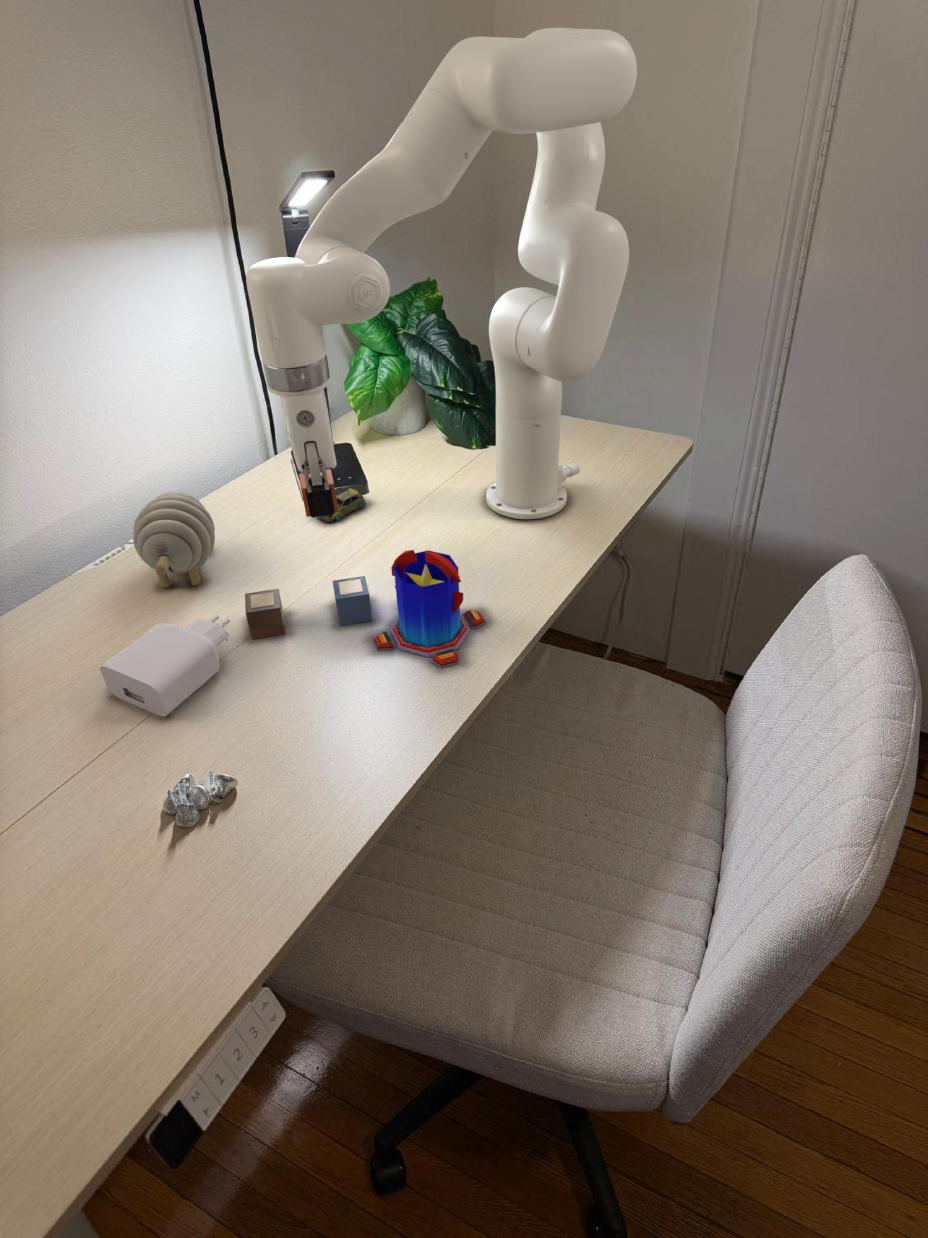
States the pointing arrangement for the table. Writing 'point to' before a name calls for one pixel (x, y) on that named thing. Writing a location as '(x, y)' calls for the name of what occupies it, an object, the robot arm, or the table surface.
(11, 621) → the table surface
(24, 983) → the table surface
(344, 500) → the race car
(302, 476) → the terracotta block
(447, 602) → the fantasy tower
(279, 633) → the walnut block
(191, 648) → the charger
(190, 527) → the toy sheep
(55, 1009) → the table surface
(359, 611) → the slate block
